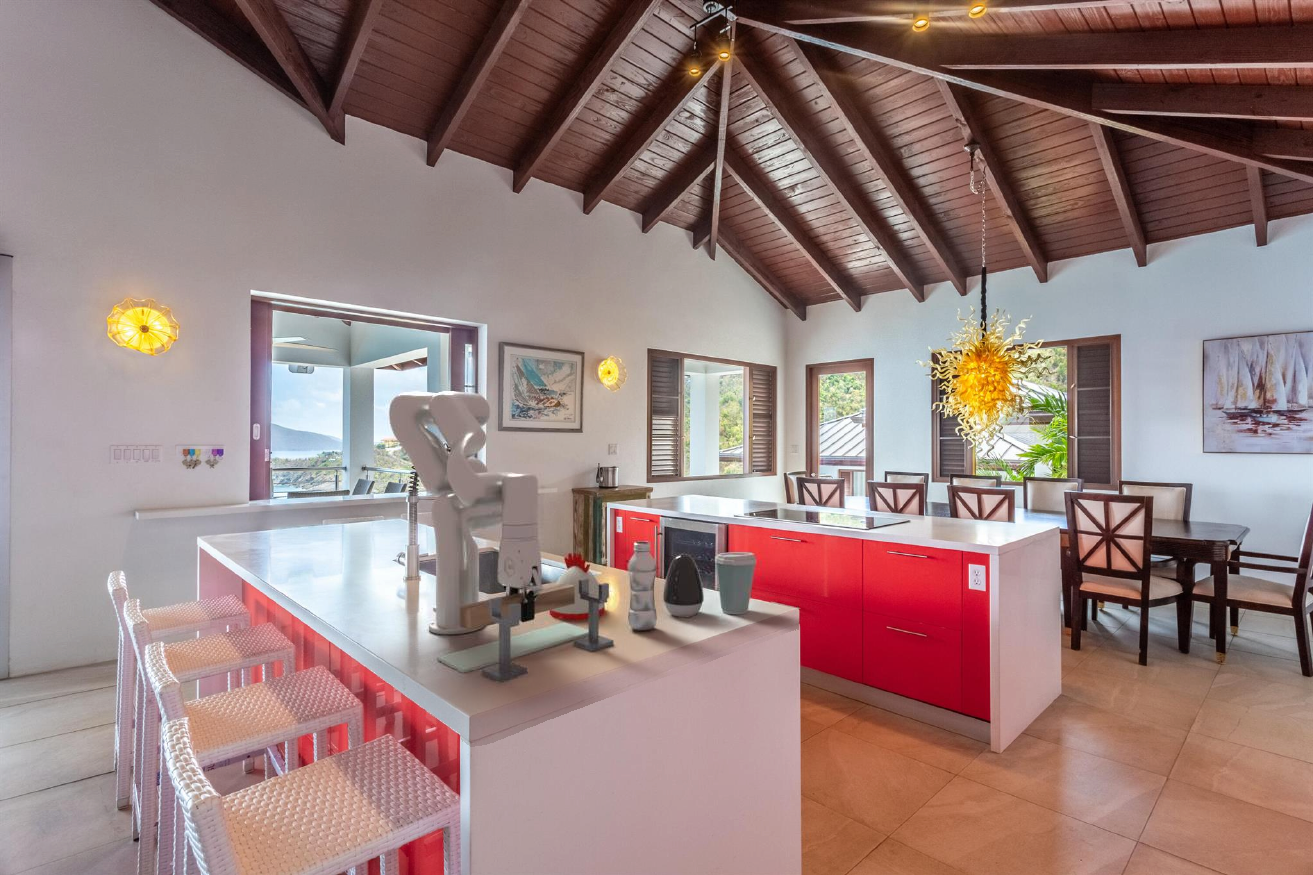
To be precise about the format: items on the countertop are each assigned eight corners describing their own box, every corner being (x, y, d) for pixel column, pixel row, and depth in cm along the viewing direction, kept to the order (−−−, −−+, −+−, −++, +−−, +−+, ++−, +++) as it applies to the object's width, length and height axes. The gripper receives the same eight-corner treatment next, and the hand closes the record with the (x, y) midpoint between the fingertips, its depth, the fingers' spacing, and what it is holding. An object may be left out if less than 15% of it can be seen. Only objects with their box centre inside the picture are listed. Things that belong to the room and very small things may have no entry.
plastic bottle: (653, 634, 137) (653, 545, 137) (624, 632, 138) (624, 544, 138) (659, 626, 143) (659, 540, 143) (631, 624, 144) (631, 539, 145)
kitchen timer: (576, 602, 164) (576, 547, 165) (615, 610, 156) (615, 552, 157) (538, 614, 153) (538, 554, 153) (578, 623, 145) (578, 560, 145)
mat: (437, 660, 121) (437, 657, 121) (564, 624, 144) (564, 622, 144) (463, 673, 114) (463, 670, 114) (592, 633, 137) (592, 631, 137)
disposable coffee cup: (705, 611, 155) (705, 552, 156) (730, 603, 163) (730, 547, 164) (740, 619, 148) (740, 558, 148) (764, 610, 156) (764, 552, 156)
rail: (459, 626, 121) (459, 605, 121) (563, 600, 140) (563, 583, 140) (470, 630, 118) (470, 609, 118) (574, 603, 137) (574, 585, 137)
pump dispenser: (711, 612, 155) (711, 552, 155) (691, 622, 146) (691, 559, 146) (676, 606, 160) (676, 548, 160) (655, 616, 151) (655, 554, 152)
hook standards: (479, 673, 114) (479, 601, 114) (592, 638, 134) (592, 576, 134) (501, 684, 109) (502, 608, 109) (615, 645, 129) (615, 581, 129)
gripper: (483, 530, 132) (483, 615, 132) (529, 537, 121) (529, 630, 120) (512, 526, 138) (513, 608, 137) (559, 533, 126) (559, 622, 126)
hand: (520, 617), depth 129 cm, fingers closed on rail, 4 cm apart
